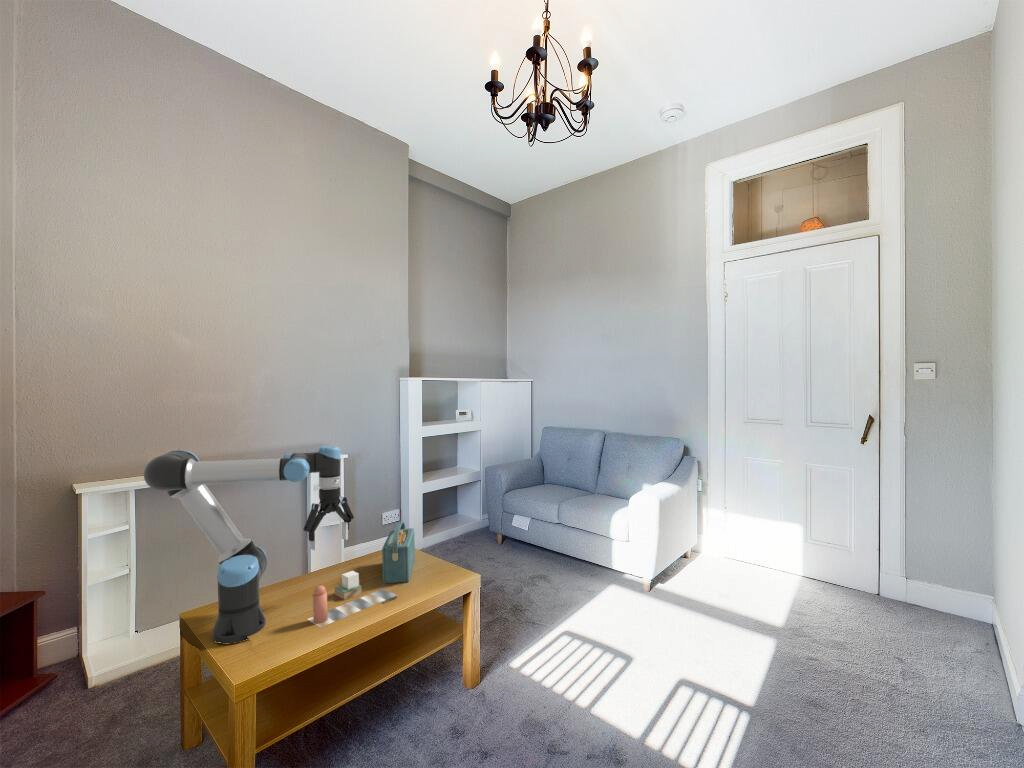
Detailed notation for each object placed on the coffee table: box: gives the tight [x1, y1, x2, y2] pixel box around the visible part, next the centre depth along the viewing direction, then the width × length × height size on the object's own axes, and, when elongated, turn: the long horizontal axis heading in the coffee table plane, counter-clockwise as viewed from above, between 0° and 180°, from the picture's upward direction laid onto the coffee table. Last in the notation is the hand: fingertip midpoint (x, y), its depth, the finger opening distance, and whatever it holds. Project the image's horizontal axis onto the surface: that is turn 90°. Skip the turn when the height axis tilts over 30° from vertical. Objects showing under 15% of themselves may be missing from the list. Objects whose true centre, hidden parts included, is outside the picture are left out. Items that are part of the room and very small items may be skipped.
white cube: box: [341, 570, 360, 589], centre depth 178 cm, size 4×4×4 cm
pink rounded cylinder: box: [312, 585, 328, 624], centre depth 158 cm, size 4×4×12 cm
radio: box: [381, 521, 416, 585], centre depth 201 cm, size 26×11×20 cm, turn 6°
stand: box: [334, 584, 362, 601], centre depth 177 cm, size 7×7×4 cm
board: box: [307, 588, 398, 628], centre depth 167 cm, size 30×9×1 cm, turn 139°
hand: (329, 544), depth 175 cm, fingers open, 13 cm apart
